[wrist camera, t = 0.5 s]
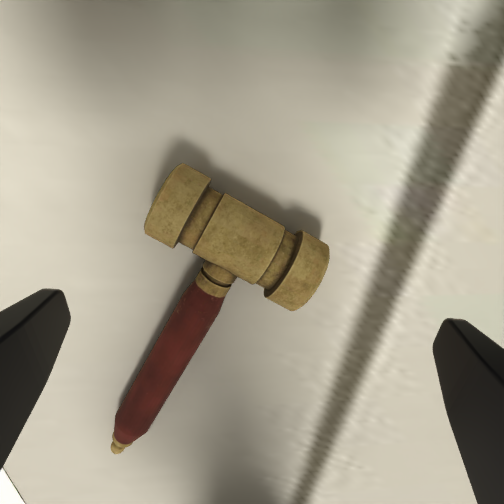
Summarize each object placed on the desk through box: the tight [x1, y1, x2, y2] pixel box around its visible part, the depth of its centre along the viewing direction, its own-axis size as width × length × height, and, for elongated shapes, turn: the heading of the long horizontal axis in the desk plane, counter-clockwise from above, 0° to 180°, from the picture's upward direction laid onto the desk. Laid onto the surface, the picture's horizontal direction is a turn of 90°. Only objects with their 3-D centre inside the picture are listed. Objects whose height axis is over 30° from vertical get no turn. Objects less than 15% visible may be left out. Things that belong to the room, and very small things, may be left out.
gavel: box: [111, 163, 329, 454], centre depth 24 cm, size 21×5×10 cm
